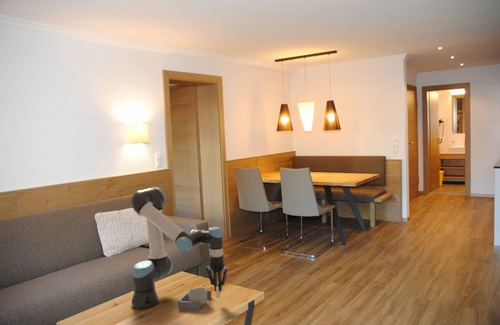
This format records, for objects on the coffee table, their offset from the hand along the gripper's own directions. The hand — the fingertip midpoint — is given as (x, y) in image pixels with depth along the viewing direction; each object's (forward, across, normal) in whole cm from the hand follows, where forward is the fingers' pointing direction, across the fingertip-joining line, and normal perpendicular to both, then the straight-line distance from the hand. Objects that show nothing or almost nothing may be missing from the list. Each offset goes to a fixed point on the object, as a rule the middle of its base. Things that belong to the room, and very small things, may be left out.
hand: (218, 296), depth 226 cm
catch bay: (+5, -14, 0) cm, 14 cm away
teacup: (+5, -11, 0) cm, 12 cm away
